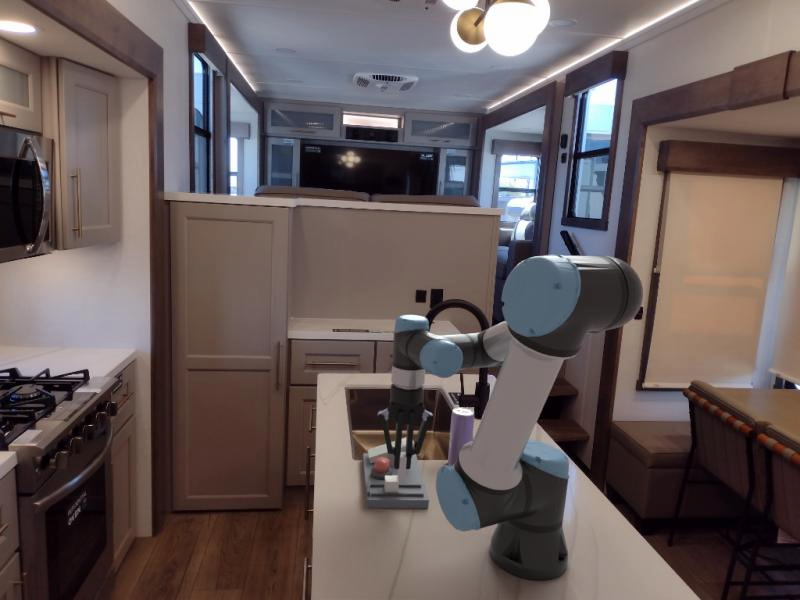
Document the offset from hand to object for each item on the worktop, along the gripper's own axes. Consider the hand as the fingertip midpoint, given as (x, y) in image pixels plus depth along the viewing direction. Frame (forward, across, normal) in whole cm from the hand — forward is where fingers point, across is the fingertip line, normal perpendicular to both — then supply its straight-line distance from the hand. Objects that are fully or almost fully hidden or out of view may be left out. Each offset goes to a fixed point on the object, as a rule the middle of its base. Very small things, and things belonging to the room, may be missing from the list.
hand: (401, 481), depth 134 cm
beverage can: (+5, -17, -18) cm, 25 cm away
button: (+1, +4, -8) cm, 9 cm away
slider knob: (+2, +2, 0) cm, 3 cm away
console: (+4, +1, -8) cm, 9 cm away
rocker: (0, +1, -16) cm, 16 cm away
